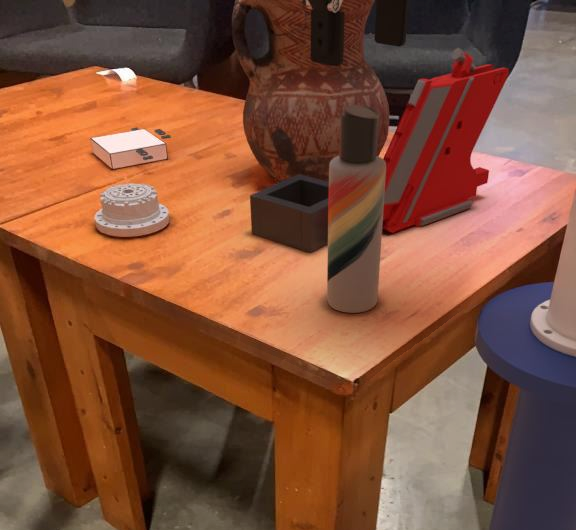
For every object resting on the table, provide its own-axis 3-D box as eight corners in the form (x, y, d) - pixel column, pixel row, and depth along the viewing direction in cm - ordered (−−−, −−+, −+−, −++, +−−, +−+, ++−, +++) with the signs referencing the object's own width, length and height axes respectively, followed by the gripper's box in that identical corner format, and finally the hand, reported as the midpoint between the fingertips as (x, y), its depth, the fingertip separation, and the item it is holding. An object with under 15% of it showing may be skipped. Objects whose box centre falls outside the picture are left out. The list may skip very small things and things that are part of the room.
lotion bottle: (335, 287, 89) (339, 98, 76) (382, 294, 88) (396, 102, 74) (320, 309, 85) (322, 114, 72) (369, 317, 84) (381, 118, 70)
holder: (357, 228, 102) (359, 189, 99) (310, 253, 96) (310, 213, 93) (299, 210, 107) (299, 173, 103) (251, 233, 101) (249, 195, 98)
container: (82, 144, 131) (79, 127, 129) (145, 133, 135) (143, 117, 133) (124, 180, 118) (121, 161, 116) (192, 166, 122) (190, 148, 120)
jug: (330, 144, 128) (333, -38, 112) (416, 178, 116) (433, -22, 99) (218, 173, 119) (203, -21, 102) (298, 213, 106) (295, -1, 89)
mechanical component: (81, 226, 104) (129, 245, 99) (74, 193, 101) (123, 211, 96) (136, 205, 110) (185, 222, 105) (132, 173, 107) (181, 188, 102)
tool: (358, 244, 95) (444, 19, 84) (328, 229, 97) (408, 10, 87) (458, 269, 112) (540, 87, 102) (430, 256, 115) (507, 77, 105)
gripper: (342, -205, 52) (334, 78, 63) (472, -203, 62) (444, 42, 73) (259, -203, 55) (266, 65, 67) (394, -201, 65) (379, 32, 77)
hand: (359, 53), depth 70 cm, fingers open, 9 cm apart
